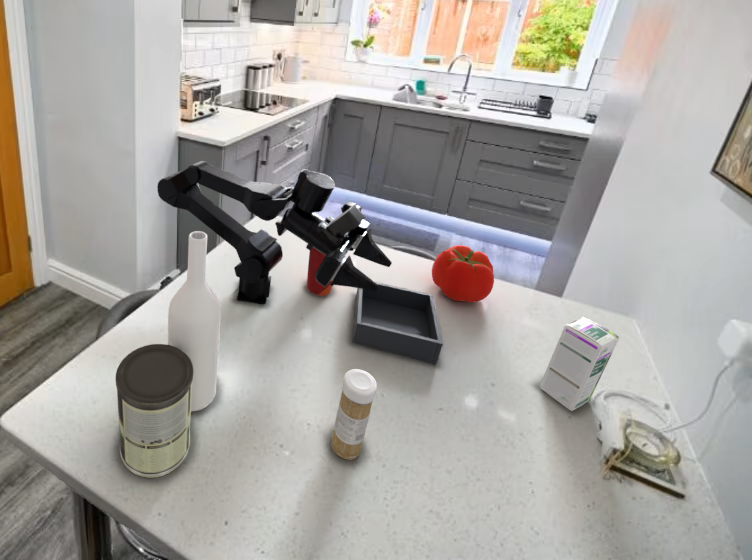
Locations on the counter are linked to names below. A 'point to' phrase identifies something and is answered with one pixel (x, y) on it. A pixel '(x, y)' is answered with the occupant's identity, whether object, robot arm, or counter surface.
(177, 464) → the coffee can
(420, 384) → the counter surface
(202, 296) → the bottle
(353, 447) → the sprinkles bottle
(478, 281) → the tomato
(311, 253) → the paper cup
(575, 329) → the syrup box
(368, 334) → the bin
